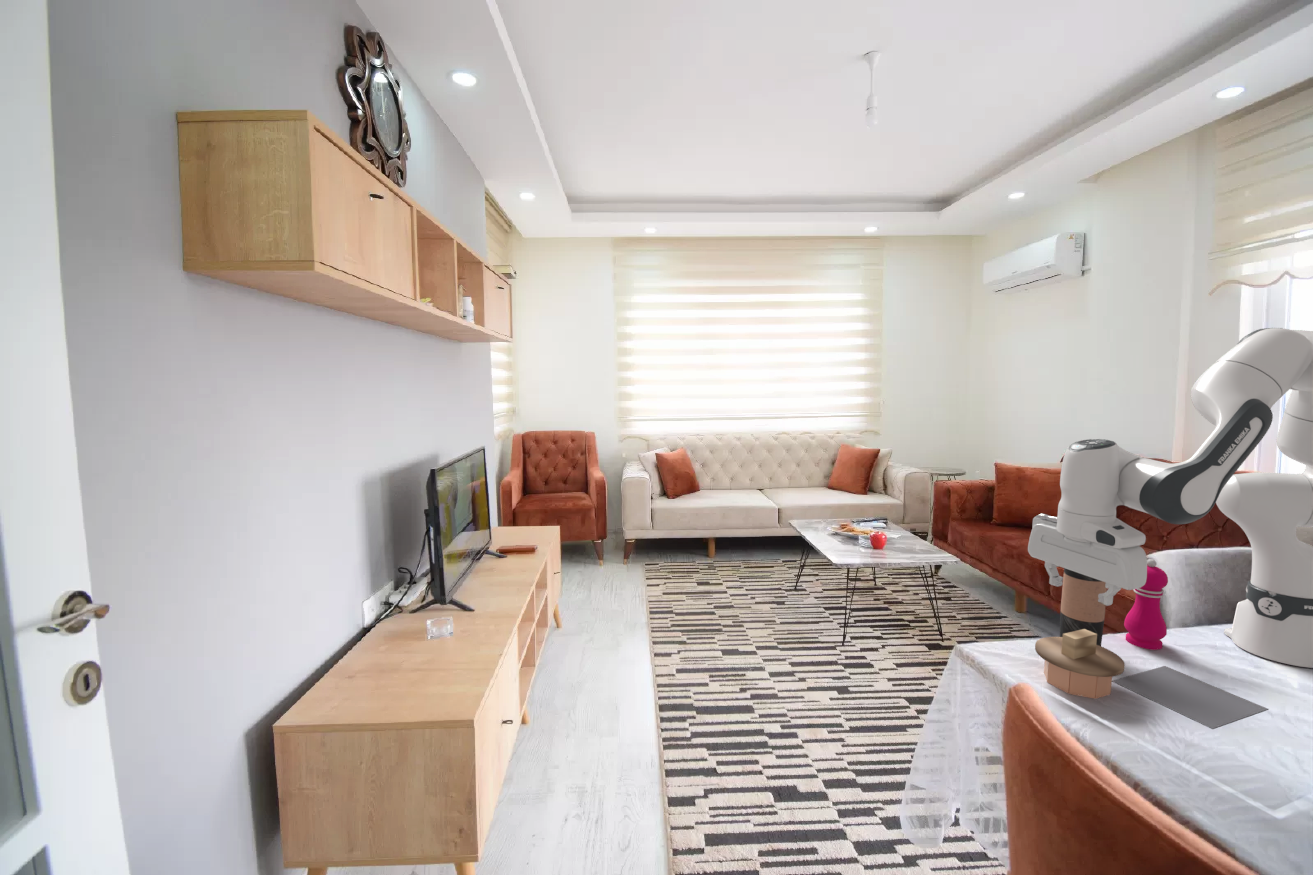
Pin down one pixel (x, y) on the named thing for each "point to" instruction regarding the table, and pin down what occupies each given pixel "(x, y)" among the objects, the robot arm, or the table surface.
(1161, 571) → the pepper mill
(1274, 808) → the table surface
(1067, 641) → the lid
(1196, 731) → the table surface
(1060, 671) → the bowl
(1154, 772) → the table surface
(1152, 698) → the mat
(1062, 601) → the travel mug
